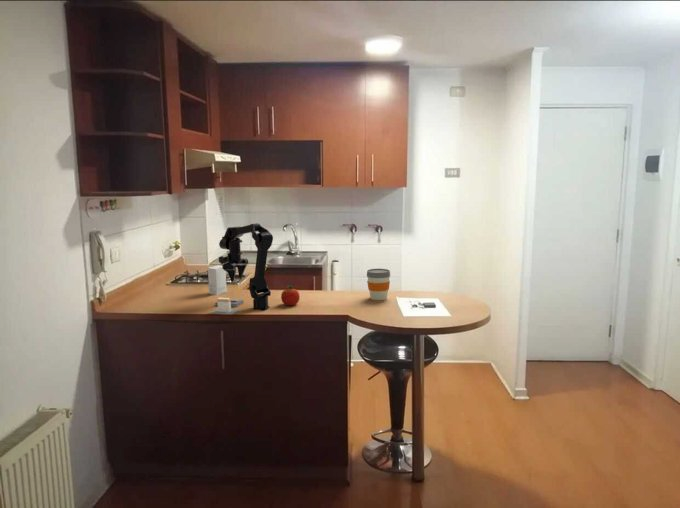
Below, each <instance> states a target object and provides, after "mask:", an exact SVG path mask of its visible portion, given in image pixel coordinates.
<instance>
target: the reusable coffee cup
mask: <svg viewBox="0 0 680 508" xmlns="http://www.w3.org/2000/svg"><path fill="white" fill-rule="evenodd" d="M366 271H367V272H366V277H367V281H366V283H367V290H368V291H369V297H370V300H372V301H373V300H374V301H385V300H387V298H388V292H389V290H390V282H391V281H390V278H391V271H390V269H386V268H370V269H368V270H366Z"/></svg>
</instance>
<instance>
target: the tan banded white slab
mask: <svg viewBox="0 0 680 508" xmlns="http://www.w3.org/2000/svg"><path fill="white" fill-rule="evenodd" d="M231 300H232V299H231V297H217V302H218V306H217V309H218V311H219V312H230V311H231V309H232V307H231Z"/></svg>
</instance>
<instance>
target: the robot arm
mask: <svg viewBox="0 0 680 508" xmlns="http://www.w3.org/2000/svg"><path fill="white" fill-rule="evenodd" d="M257 232H258V233H257ZM246 234H251V238H252V239H253V240H254V245H255V247H256V249H257V251H256V257H255V258H256V259H255V268H254V274H253V275H254V276H252V277H250V278H249V283H248V286H249V288H248V289H249V294H250V297H251V299H253V300H252V303H253V304H252V305H253V308H252V309H253V310H257V311H258V310H260V311H266V310H268V309H269V308H271V307H270V306H269V297H270V296H271V293H272V292H271V290H270V289H269V287H268V281H267V279H266V277H265V275H266V274H265V273H266V269H267V268H266V267H267V261H268V260H267V258H268V251H269V249H271V247H272V245H273V241H274V236H273V234H272V233H271V232H270V230H269V229H267V228H266V227H263V226H262V225H261V224H260V223H250V224H247V225H244V226H238V225H237V226H230V227H227V228H226V230H225V232H224V235H223V236H222V237H221V239H220V240H219V242H218V243H219V244H218V245H219V247H220V249H223V250H227V251H228V250H229V251H228V253H227V256H223V255H221V256H219V257H218V263H220V266H222V269H224V271H226V272H227V274H228V277H229V279H230V281H231V283H233V282H235V278H236V273H238V278H239V279H242V278H243V275H244V273H245V271H246V268H247V266H248V265H249V259H247V258H242V256H241V255H242V254H243V252H242V251H241V243H243V240H242V239H241V237H243V236H244V235H246Z"/></svg>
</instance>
